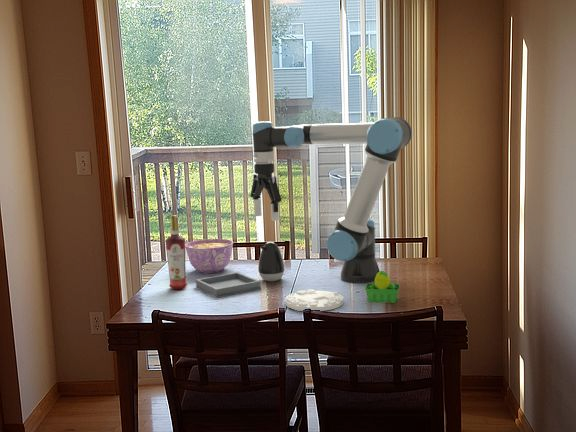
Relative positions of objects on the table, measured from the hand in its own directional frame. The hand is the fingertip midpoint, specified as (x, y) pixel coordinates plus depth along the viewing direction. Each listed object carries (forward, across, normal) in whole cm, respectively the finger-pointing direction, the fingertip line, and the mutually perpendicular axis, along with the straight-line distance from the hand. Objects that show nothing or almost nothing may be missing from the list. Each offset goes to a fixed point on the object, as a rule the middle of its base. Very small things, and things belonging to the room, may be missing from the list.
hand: (266, 218), depth 279 cm
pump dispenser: (+25, 0, +1) cm, 25 cm away
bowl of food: (+25, -30, -11) cm, 40 cm away
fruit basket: (+25, +50, +17) cm, 58 cm away
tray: (+24, 0, -18) cm, 30 cm away
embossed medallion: (+25, +38, -3) cm, 46 cm away
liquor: (+25, -11, -33) cm, 43 cm away
